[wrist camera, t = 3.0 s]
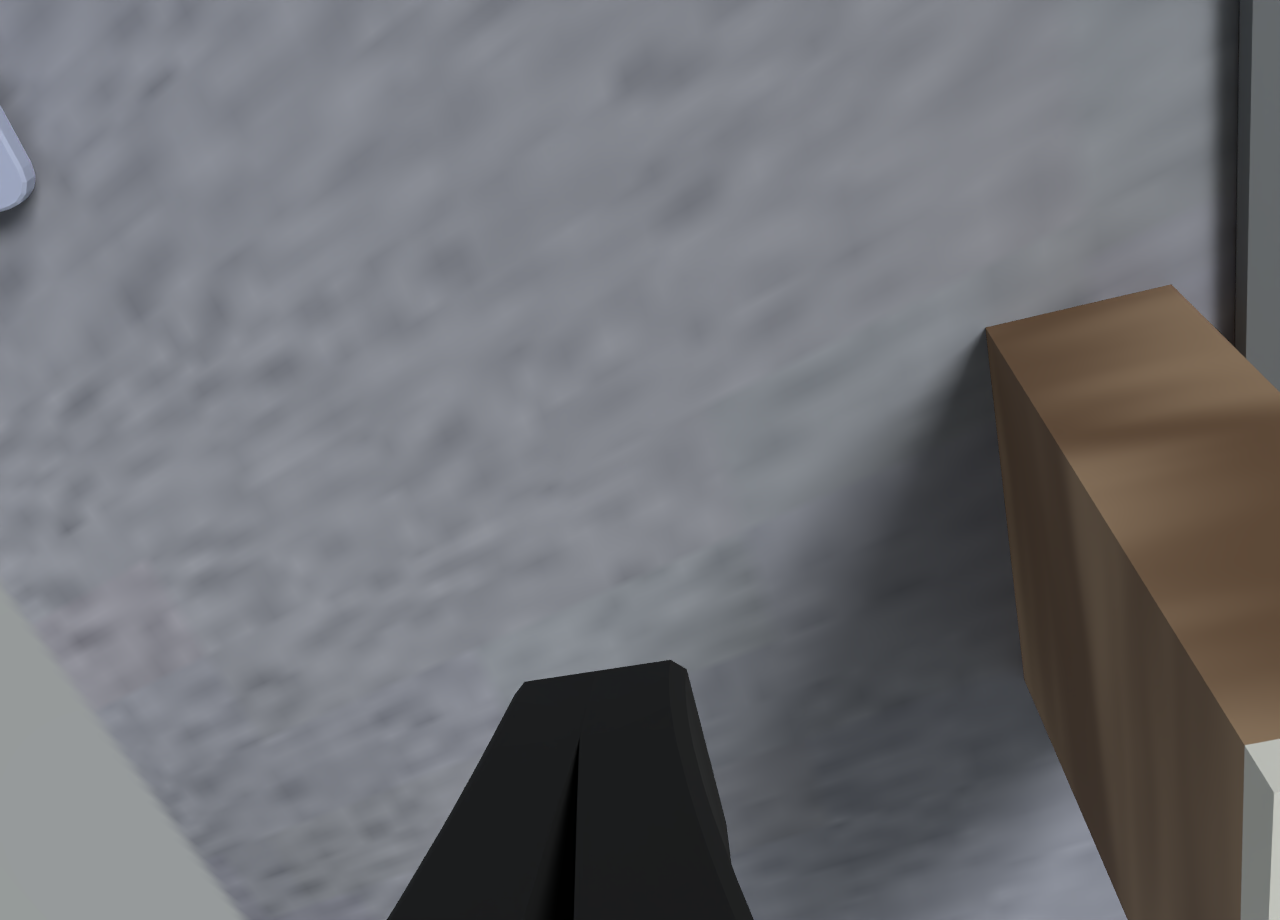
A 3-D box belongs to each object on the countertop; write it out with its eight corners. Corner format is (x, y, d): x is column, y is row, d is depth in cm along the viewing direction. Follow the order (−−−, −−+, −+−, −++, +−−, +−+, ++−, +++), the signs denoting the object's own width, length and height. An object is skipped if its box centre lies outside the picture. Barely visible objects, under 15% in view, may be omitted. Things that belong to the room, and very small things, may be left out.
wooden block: (1024, 679, 23) (1255, 1217, 15) (985, 327, 19) (1273, 793, 11) (1177, 649, 23) (1504, 1182, 15) (1171, 284, 19) (1620, 730, 10)
